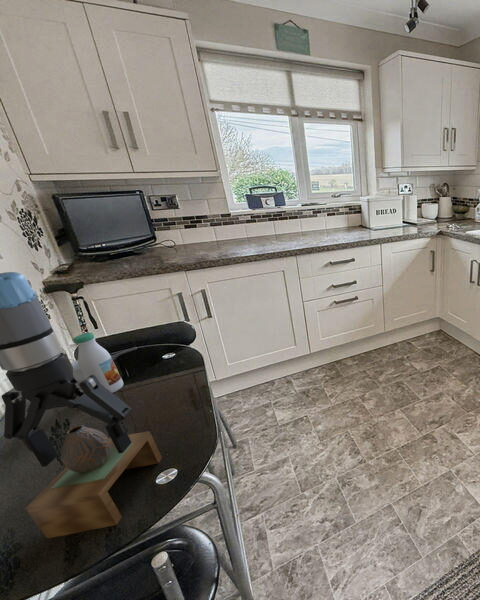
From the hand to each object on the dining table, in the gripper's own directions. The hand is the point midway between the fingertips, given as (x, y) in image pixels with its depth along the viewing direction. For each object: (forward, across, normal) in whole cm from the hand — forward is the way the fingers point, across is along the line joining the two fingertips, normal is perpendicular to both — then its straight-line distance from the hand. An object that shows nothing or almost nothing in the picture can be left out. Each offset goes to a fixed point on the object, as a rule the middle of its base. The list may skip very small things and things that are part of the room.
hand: (88, 454), depth 64 cm
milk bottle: (+11, +29, -45) cm, 55 cm away
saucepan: (+11, +39, -60) cm, 72 cm away
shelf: (+11, 0, 0) cm, 11 cm away
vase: (+3, 0, 0) cm, 3 cm away
